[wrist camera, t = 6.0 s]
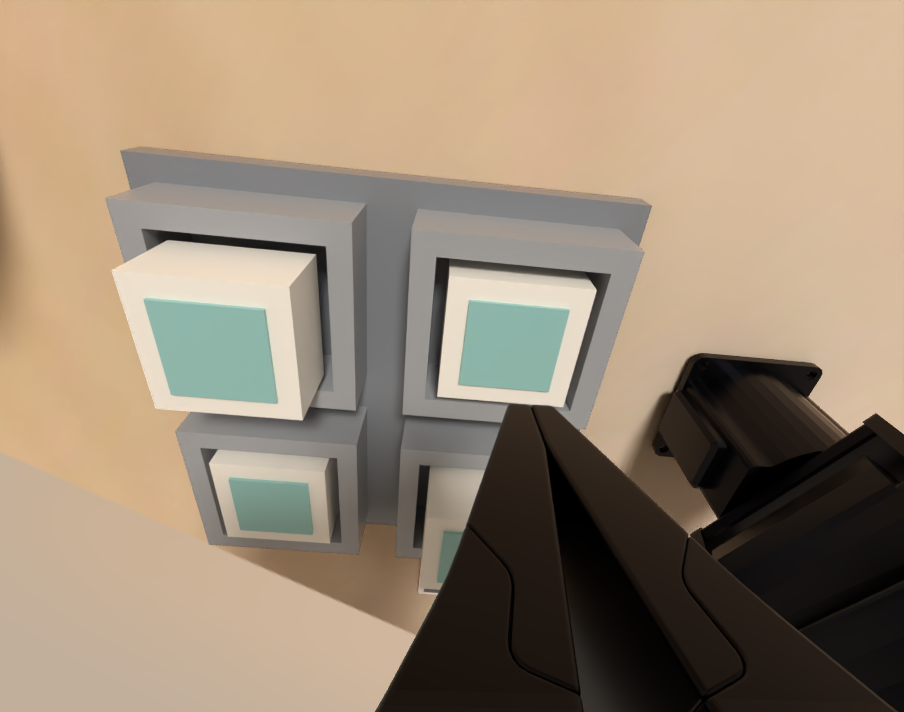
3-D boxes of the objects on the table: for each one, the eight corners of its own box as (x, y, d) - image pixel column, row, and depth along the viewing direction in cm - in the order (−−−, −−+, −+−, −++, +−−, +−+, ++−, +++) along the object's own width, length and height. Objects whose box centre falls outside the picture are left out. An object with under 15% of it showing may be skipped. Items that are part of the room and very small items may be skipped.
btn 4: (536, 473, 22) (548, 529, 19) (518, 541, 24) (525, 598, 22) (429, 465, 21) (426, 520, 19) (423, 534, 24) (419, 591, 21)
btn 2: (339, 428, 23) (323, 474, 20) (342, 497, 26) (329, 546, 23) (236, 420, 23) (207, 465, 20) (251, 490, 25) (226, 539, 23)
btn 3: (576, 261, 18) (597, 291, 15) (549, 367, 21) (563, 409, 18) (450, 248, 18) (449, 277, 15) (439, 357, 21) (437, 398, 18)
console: (640, 199, 18) (683, 225, 15) (542, 519, 29) (553, 578, 25) (140, 146, 17) (62, 161, 14) (226, 496, 28) (193, 554, 24)
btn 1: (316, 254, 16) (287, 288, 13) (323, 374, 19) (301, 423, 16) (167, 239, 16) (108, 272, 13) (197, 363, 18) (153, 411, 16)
